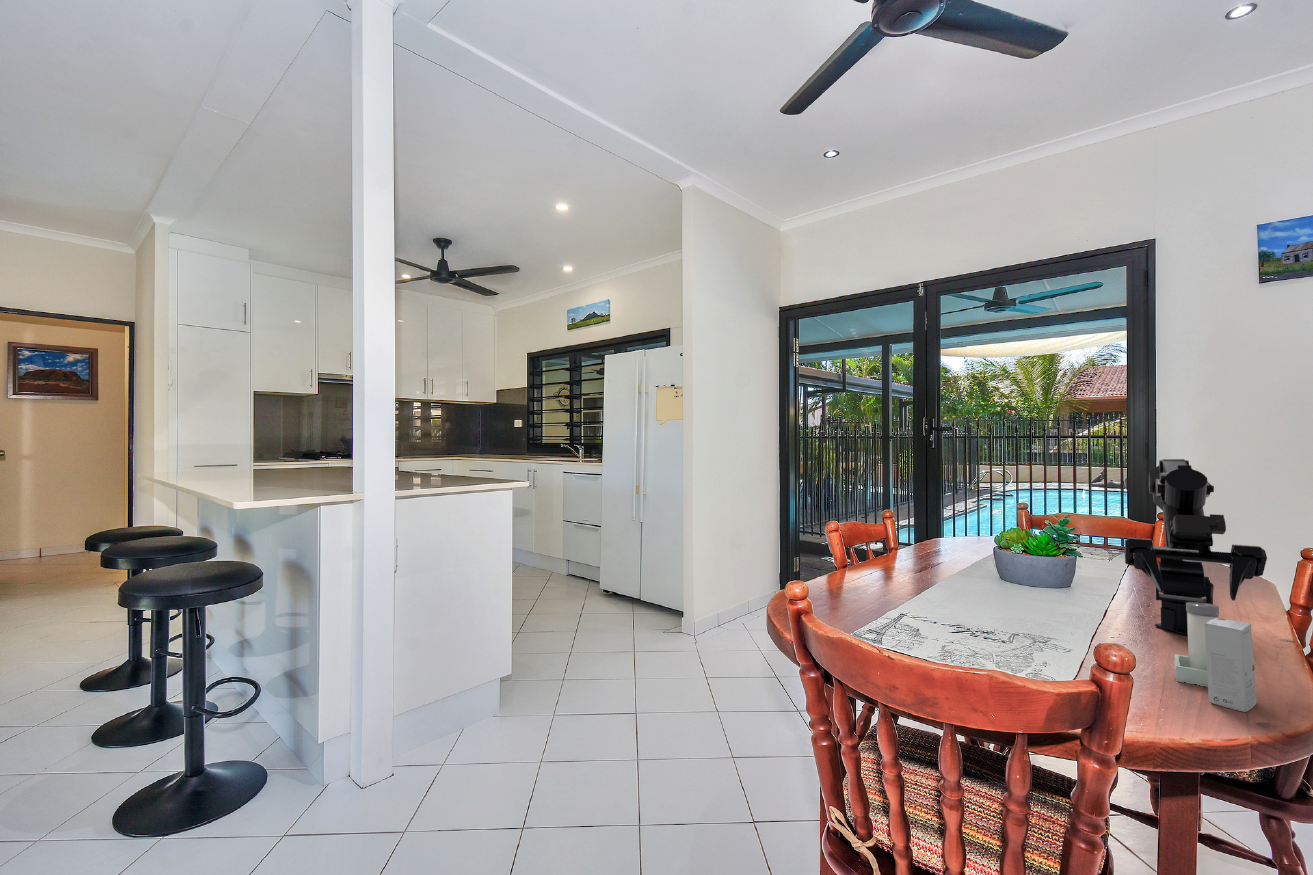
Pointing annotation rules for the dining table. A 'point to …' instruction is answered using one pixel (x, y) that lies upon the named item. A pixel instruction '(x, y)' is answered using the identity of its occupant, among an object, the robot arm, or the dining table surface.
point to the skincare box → (1230, 664)
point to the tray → (1189, 672)
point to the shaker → (1198, 631)
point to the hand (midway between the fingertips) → (1196, 595)
